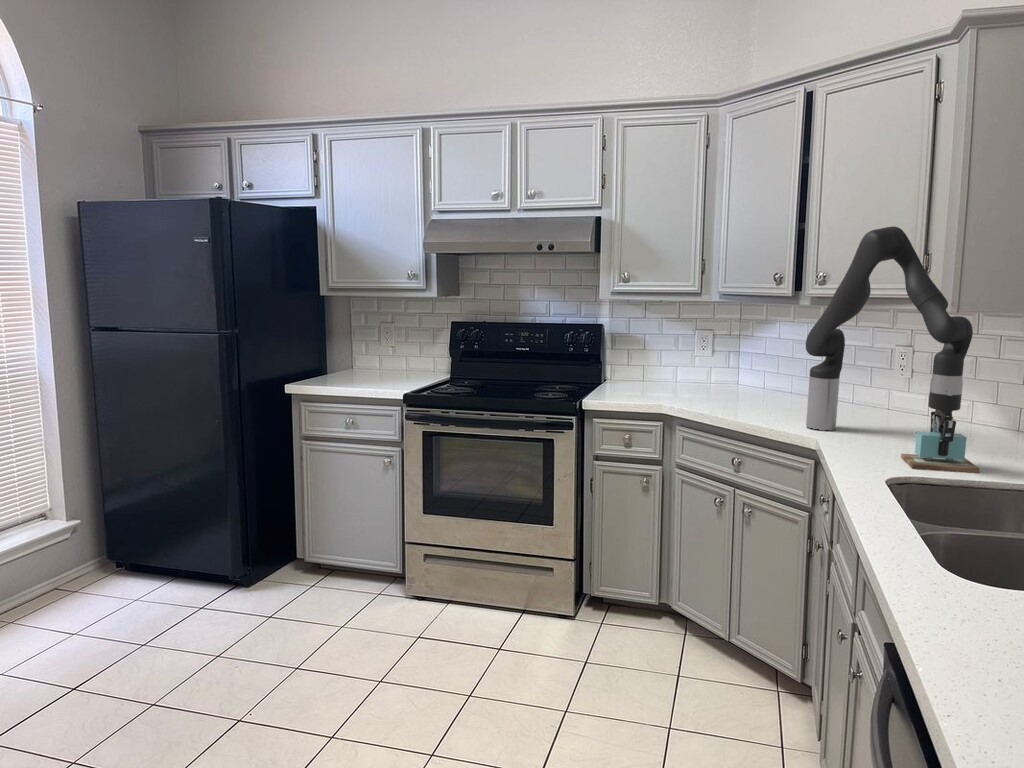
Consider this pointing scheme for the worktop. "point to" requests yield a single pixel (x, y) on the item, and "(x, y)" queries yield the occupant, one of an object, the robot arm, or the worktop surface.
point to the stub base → (939, 463)
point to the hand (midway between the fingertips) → (939, 452)
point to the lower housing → (930, 443)
